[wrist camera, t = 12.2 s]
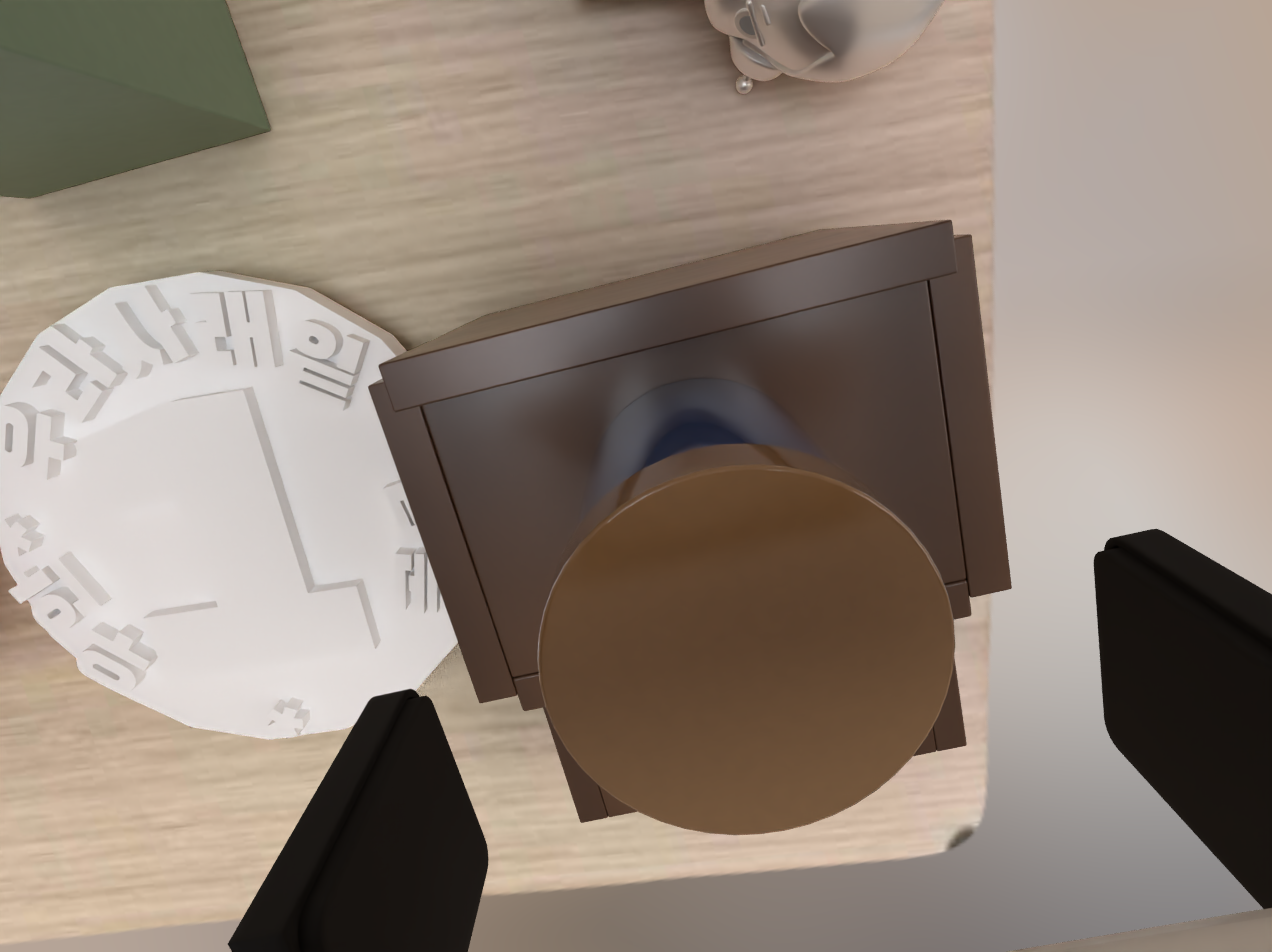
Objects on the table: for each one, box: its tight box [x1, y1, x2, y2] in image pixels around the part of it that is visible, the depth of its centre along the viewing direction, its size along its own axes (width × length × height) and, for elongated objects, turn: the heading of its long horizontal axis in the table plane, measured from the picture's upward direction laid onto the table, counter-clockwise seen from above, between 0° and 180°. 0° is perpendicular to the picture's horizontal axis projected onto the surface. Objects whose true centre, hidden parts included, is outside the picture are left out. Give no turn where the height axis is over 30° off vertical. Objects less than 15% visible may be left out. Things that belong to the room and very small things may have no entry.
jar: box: [538, 378, 955, 835], centre depth 17 cm, size 7×7×9 cm
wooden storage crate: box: [368, 220, 1012, 823], centre depth 27 cm, size 16×21×13 cm
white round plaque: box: [0, 271, 458, 740], centre depth 31 cm, size 20×20×3 cm
